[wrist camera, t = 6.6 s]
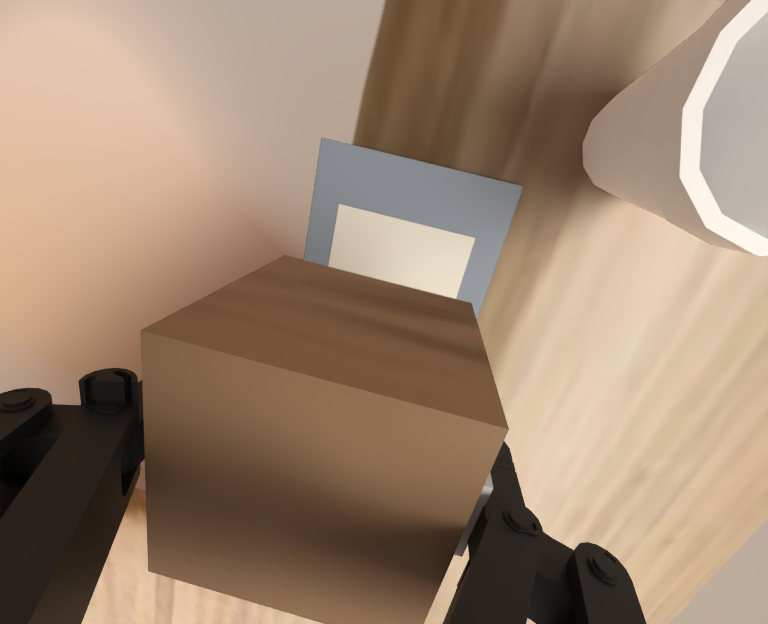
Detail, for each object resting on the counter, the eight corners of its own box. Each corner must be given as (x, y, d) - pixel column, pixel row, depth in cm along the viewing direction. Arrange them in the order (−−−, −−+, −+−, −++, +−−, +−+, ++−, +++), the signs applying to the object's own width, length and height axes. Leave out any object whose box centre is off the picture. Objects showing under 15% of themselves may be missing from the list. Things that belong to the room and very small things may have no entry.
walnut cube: (284, 255, 15) (140, 330, 8) (471, 302, 15) (508, 429, 7) (265, 409, 18) (148, 571, 11) (421, 452, 18) (412, 650, 10)
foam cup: (530, 129, 24) (628, 80, 12) (676, 18, 21) (1008, -202, 9) (600, 246, 26) (748, 308, 14) (743, 159, 23) (1092, 138, 11)
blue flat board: (325, 138, 26) (321, 137, 25) (520, 186, 25) (523, 186, 24) (292, 357, 32) (288, 363, 31) (446, 398, 32) (446, 406, 31)
